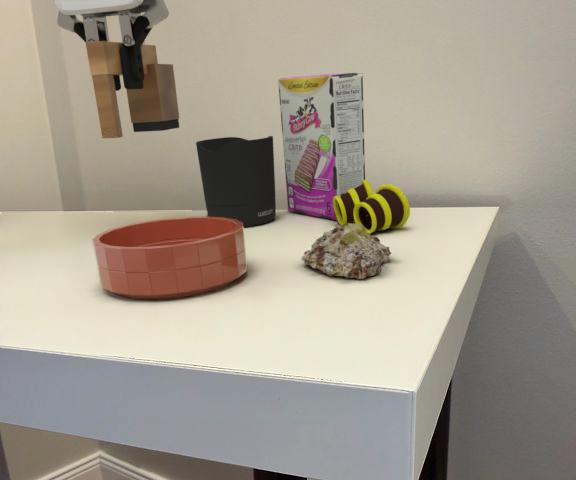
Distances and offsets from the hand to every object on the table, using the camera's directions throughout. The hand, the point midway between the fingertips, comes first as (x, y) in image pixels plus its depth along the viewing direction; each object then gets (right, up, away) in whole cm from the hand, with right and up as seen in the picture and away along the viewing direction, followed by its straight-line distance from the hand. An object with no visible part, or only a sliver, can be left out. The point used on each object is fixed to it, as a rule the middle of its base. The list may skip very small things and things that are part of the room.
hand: (122, 88), depth 71 cm
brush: (+1, -3, +4) cm, 5 cm away
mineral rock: (+23, -21, -10) cm, 33 cm away
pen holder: (+12, -11, +14) cm, 21 cm away
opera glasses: (+27, -14, +5) cm, 31 cm away
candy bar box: (+23, -10, +14) cm, 29 cm away
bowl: (+8, -22, -11) cm, 26 cm away
